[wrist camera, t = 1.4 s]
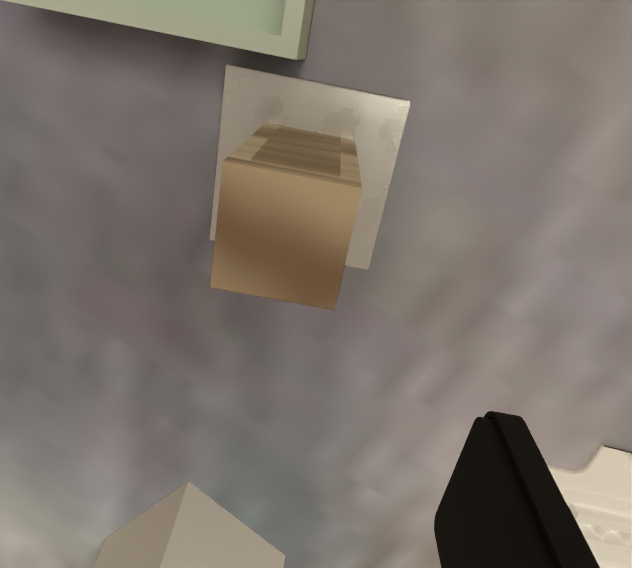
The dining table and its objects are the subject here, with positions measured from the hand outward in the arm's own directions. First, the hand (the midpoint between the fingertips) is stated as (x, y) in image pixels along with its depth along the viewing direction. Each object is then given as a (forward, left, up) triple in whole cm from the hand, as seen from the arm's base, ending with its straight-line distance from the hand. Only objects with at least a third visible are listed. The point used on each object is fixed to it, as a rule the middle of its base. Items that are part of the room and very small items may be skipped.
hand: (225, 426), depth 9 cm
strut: (0, 0, -21) cm, 21 cm away
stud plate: (0, 0, -22) cm, 22 cm away
